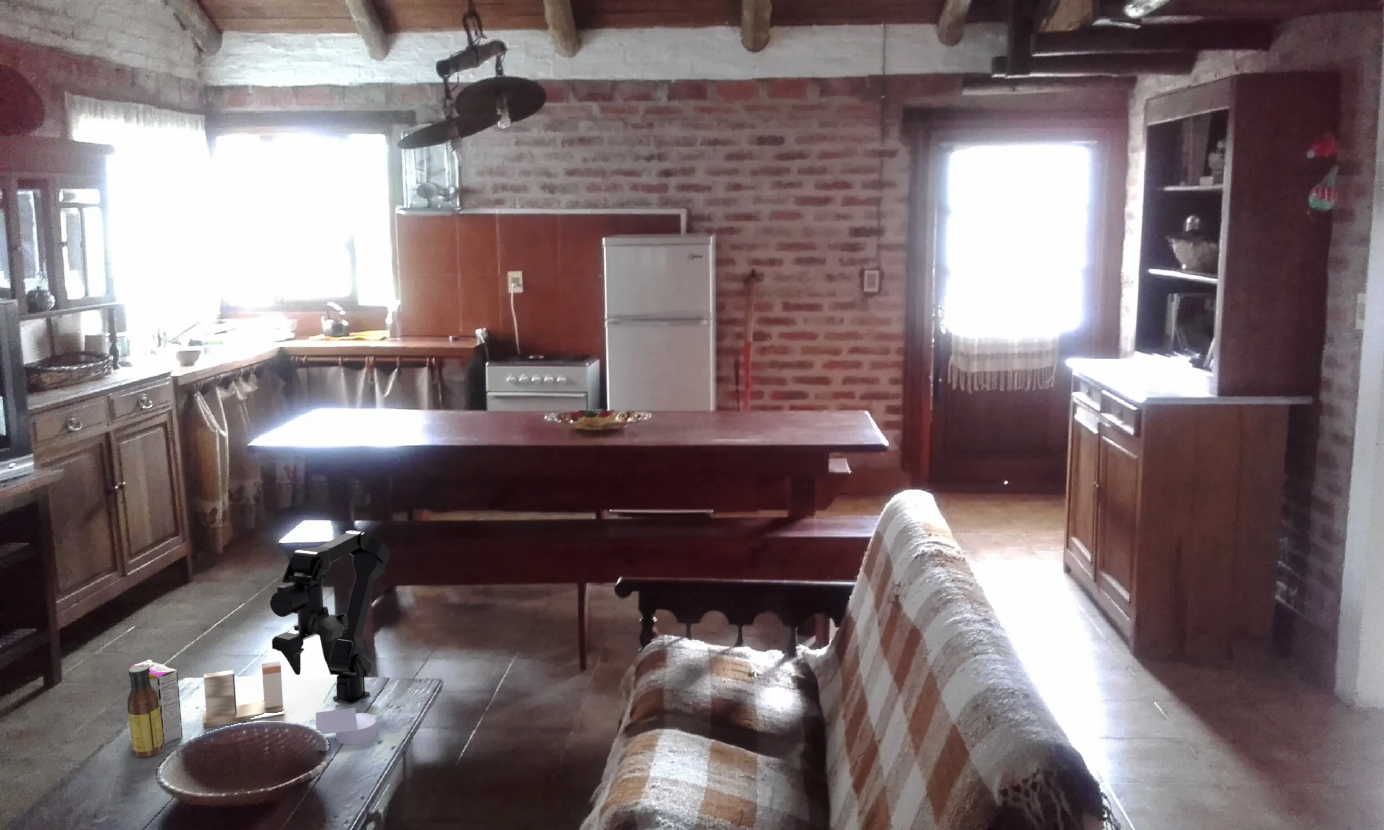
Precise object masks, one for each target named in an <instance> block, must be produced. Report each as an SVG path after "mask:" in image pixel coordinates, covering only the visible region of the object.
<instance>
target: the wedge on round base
mask: <svg viewBox="0 0 1384 830" xmlns="http://www.w3.org/2000/svg"><path fill="white" fill-rule="evenodd" d="M377 722H378V721H377V717H376V716H375V715H374V714H371V713H366V712H358V713H356V707H351V708H350V707H349V708H343V709H342V708H341V709H335V710H326V711H318V712H315V730H318V731H320V732H321V733H322V734H323V735H327V734H335V740H336V741H337V742H338V743H340V744H344V745H358V744H363V743H367V742H369V741H371V740H373V739H374V738H376V737H377V734H378V728H377V727H378V726H377V725H378V724H377Z"/></svg>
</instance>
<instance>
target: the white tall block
mask: <svg viewBox="0 0 1384 830" xmlns="http://www.w3.org/2000/svg"><path fill="white" fill-rule="evenodd" d="M261 673H262V685H263V686H262V687H263V701H264V705H265V708H270V707H276V706H282V705H283V706H284V698H283V696H284V695H283V683H282V681H283V679H282V667H281V661H273V662H264V663H262V664H261Z"/></svg>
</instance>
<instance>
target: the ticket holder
mask: <svg viewBox="0 0 1384 830" xmlns="http://www.w3.org/2000/svg"><path fill="white" fill-rule="evenodd" d="M203 683H204V684H203V686H204V697H205V701H204V702H205V710H203V711H202V715H203V718H202V719H203V728H204V729H206V728H212V727H218V726H223V725H224V726H225V725H229V724H235V723H241V721H242V722H247V721H246V720H248V721H251V720H250V719H251V718H254V717H255V716H259V715H262V714H264V713H278V712H282V711H284V712H285V708H284V704H283V705H282V706H276V707H270V708H265V705H264V700H263V701H258V702H252V703H246V704H239V705H237V698H236V683H235V670H234V669H230V670H223V671H217V672H211V673H210V672H209V673H204V674H203Z"/></svg>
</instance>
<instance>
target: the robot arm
mask: <svg viewBox="0 0 1384 830" xmlns="http://www.w3.org/2000/svg"><path fill="white" fill-rule="evenodd" d="M347 555H350V556H351V557H352V563H351V564H352V567H353V572H354V575H355V577H354V582H353V585H352V589H351V593H350V597H349V601H348V605H347V608H346V613H344V612H342V613H339V614H337V615H336V614H334V613H333V614H329V608H328V606H325V605H324V590H323V589H324V587H323V582H325V581H328V580H329V577H328V576H327V575H325V573H326V572H328V571H329V570H330V568H331V564H332V563H334V562H335V561H337V560H340V559H341V558H344V557H345V556H347ZM390 557H391V552H390V549H388V546H387V545H386V544H383V542H382V541H379V540H378V539H376V538H373V537H372V536H370V534H368V533H367V532H365V531H363V530H353V529H350V530H347V531H346V532H345V533H343V534H342V535H339V536H338V537H335V538H333V539H331V540H330V541H327V542H325V543H323V544H322V545H319V546H314V547H313V546H312V547H305V548H299V549H296V550H295V551H294V552H293V553H292V556H291V558H290V559H289V562H288V565H287V567H286V569H285V573H284V575H283V578H282V580H281V581H282V585H279V586H277V588H276V590H277V591H276V592H274V594H272V596H271V599H270V601H269V606H270V608H271V611H272V612H273V614H274V615H276V616H277V617H279V618H285V617H287V616H289V615H292V614H296V615H297V624H295V625H293V629H294V631H298V632H297V633H292V632H288V631H287V632H282V633H280V634H278V635H275V636H274V637H273V638H272V639H271V648H272V649H273V650H276V651H278V652H281V654H282V655H283V656H284V658H285V659H286V660H287V662H288V663H289V666H290V667H291V669H292V670H293V672H294V674H295V675H296V676H300V675H301V669H302V667H301V663H302V662H301V660H302V659H301V654H302V653H303V652H304V650H305V647H304V648H303V645H304V641H305V640H308V639H310V638H312V637H315V636H319V639H320V645H321V650H322V651H321V652H322V656H323V658H324V661H325V663H326V666H327V669H328V672H329V674H330V676H331V675H333V676H336V684H335V685H336V686H335V687H336V688H335V689H336V695H334V696H332V699H333V700H334V701H338V702H343V703H347V704H355V703H357V702H359V701H360V700H363V699H364V698H366V697H368V696H370V695H371V692H370V691H366V683H365V681H366V680H365V677H368V676H369V674H370V673H371V670H372V663H371V662H370V660H368V659H367V658H366V657H365V650H366V648H365V645H364V642H363V639H362V636H363V631H364V627H365V624H366V619H367V615H368V611H369V608H370V604H371V599H372V597H373V596H372V595H373V592H374V588H375V584H376V581H377V579H378V578H379V577H380V576H381V575H382V574H383V573H384V572H385V570H386V567H387V565H388V562H389V560H390ZM283 583H284V584H283Z"/></svg>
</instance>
